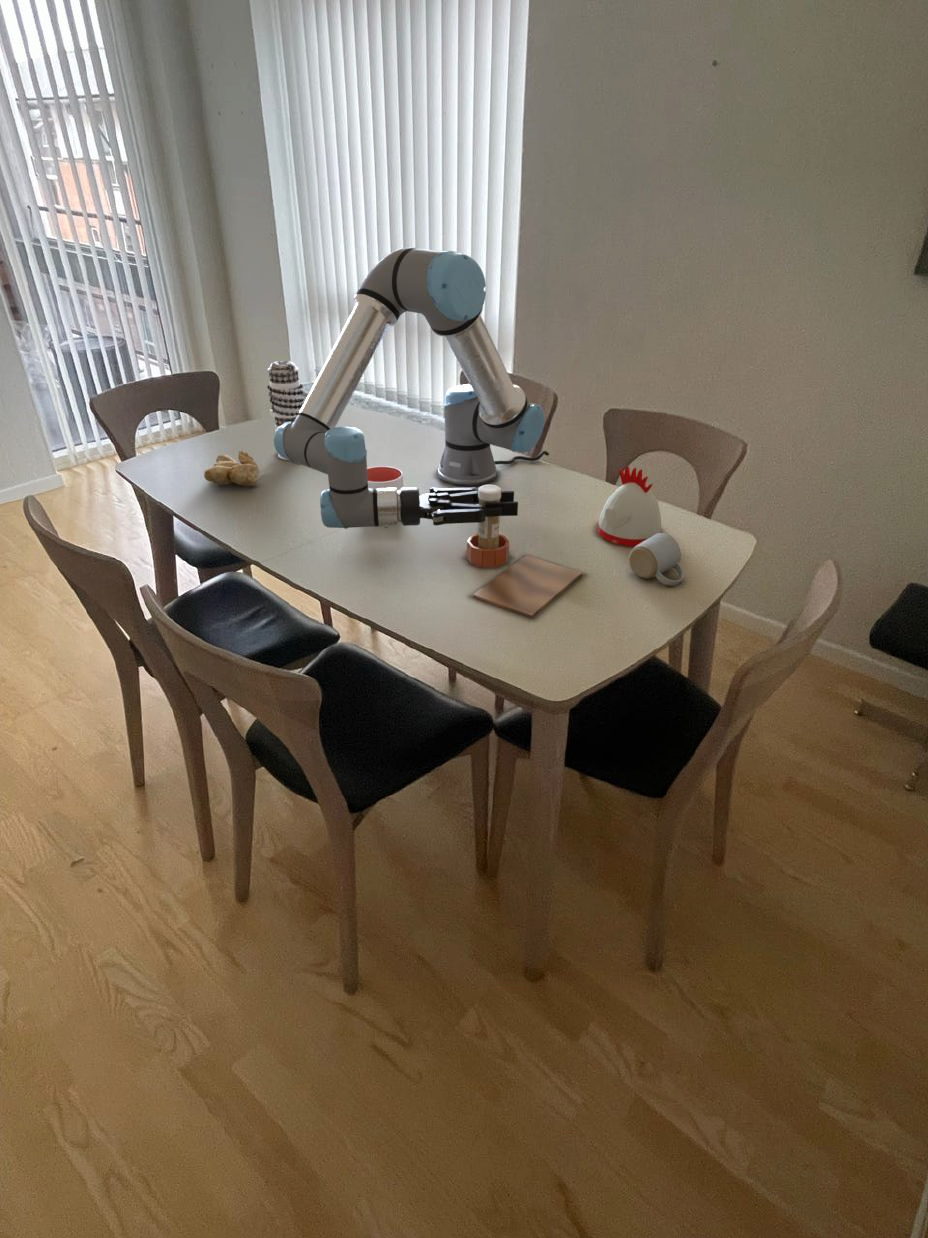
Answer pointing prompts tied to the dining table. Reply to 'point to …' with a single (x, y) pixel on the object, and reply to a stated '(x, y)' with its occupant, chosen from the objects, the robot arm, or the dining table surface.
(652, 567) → the ceramic mug
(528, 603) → the wooden board
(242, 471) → the ginger root
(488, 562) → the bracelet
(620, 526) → the kitchen timer
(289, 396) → the patterned tall cylinder
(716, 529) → the dining table surface
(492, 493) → the sprinkles bottle
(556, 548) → the dining table surface
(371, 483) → the cup
